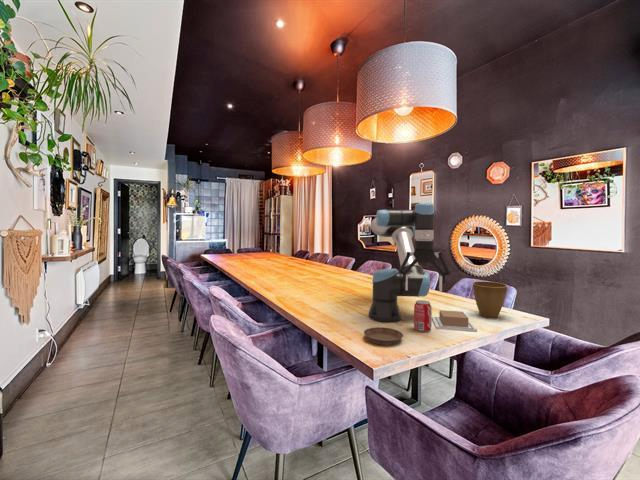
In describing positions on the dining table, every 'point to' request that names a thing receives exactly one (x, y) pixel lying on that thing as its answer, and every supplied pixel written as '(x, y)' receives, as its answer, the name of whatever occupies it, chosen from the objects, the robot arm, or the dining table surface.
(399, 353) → the dining table surface
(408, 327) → the dining table surface
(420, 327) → the soda can
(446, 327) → the base
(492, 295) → the plant pot
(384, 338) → the saucer
